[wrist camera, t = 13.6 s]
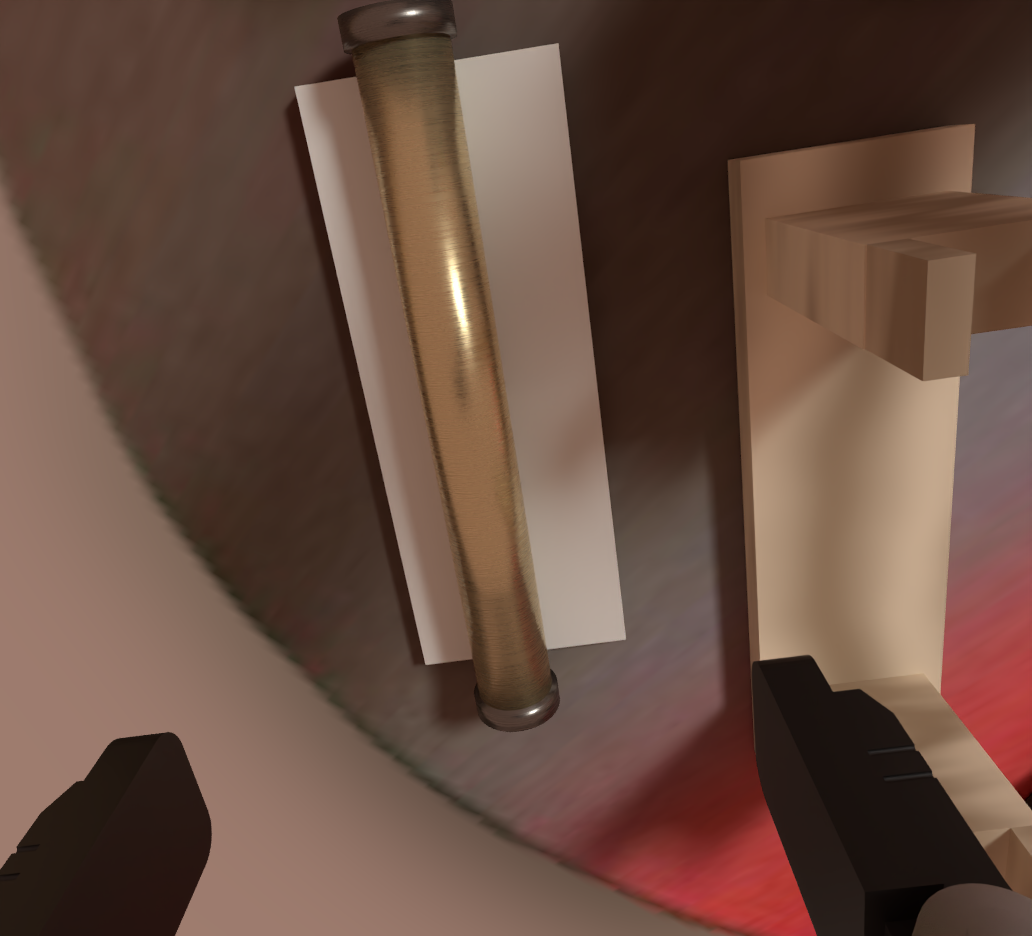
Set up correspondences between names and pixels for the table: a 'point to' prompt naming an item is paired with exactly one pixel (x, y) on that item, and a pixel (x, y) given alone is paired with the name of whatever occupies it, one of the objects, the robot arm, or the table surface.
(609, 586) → the grey mat
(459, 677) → the table surface
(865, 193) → the rail stand
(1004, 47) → the table surface
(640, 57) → the table surface
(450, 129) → the brass rail
